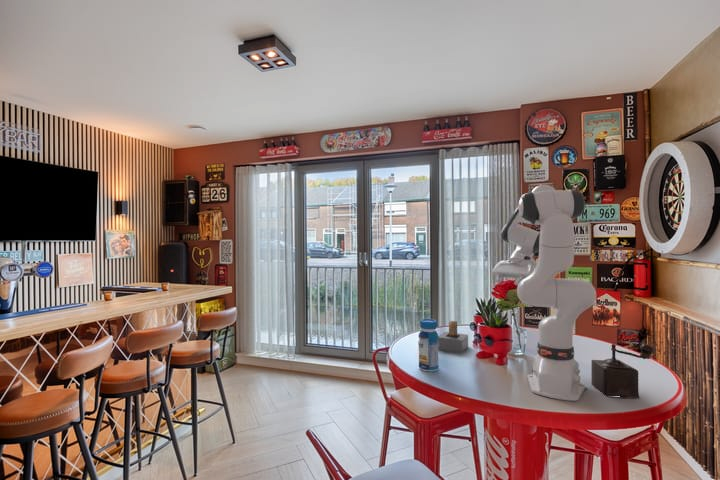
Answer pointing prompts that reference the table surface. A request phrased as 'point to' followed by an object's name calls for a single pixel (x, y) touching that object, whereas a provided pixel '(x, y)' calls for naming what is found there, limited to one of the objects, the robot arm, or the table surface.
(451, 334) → the walnut peg
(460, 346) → the charcoal socket
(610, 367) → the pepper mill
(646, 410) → the table surface
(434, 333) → the beverage bottle
